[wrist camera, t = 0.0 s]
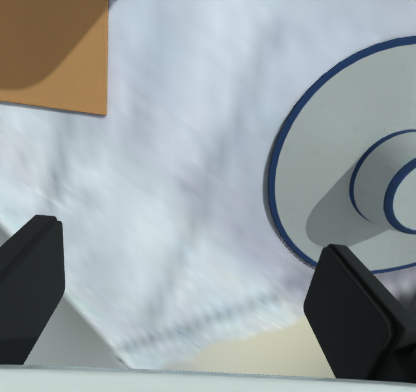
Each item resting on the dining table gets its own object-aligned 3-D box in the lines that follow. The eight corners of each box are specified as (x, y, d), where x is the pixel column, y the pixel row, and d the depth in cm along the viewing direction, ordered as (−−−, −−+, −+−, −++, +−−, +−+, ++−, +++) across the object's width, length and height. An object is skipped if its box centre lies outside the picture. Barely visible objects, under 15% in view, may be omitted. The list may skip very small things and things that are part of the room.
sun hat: (562, 113, 42) (656, 123, 34) (401, 298, 54) (441, 339, 45) (363, -21, 34) (421, -53, 26) (226, 229, 46) (234, 264, 37)
